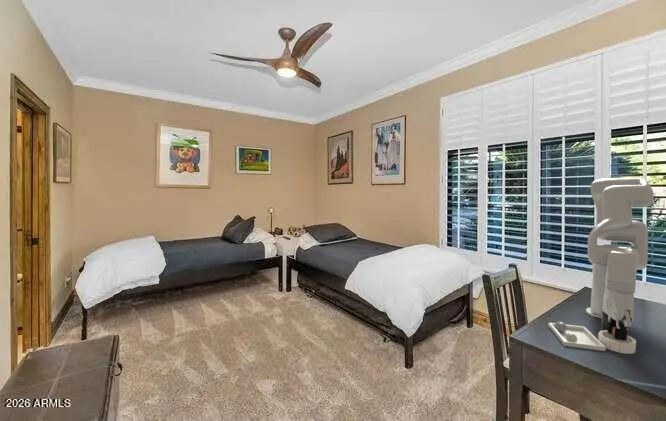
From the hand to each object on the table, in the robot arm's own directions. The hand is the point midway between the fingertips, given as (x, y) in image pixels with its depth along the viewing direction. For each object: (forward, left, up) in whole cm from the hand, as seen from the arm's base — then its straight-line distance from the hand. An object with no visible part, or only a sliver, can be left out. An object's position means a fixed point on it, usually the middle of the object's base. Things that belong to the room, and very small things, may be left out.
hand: (616, 336), depth 108 cm
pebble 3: (0, 0, 0) cm, 0 cm away
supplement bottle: (-11, +4, -4) cm, 12 cm away
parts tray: (-3, -11, -4) cm, 12 cm away
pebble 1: (-7, -14, -4) cm, 16 cm away
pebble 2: (+2, -14, -4) cm, 15 cm away
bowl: (0, 0, -4) cm, 4 cm away
